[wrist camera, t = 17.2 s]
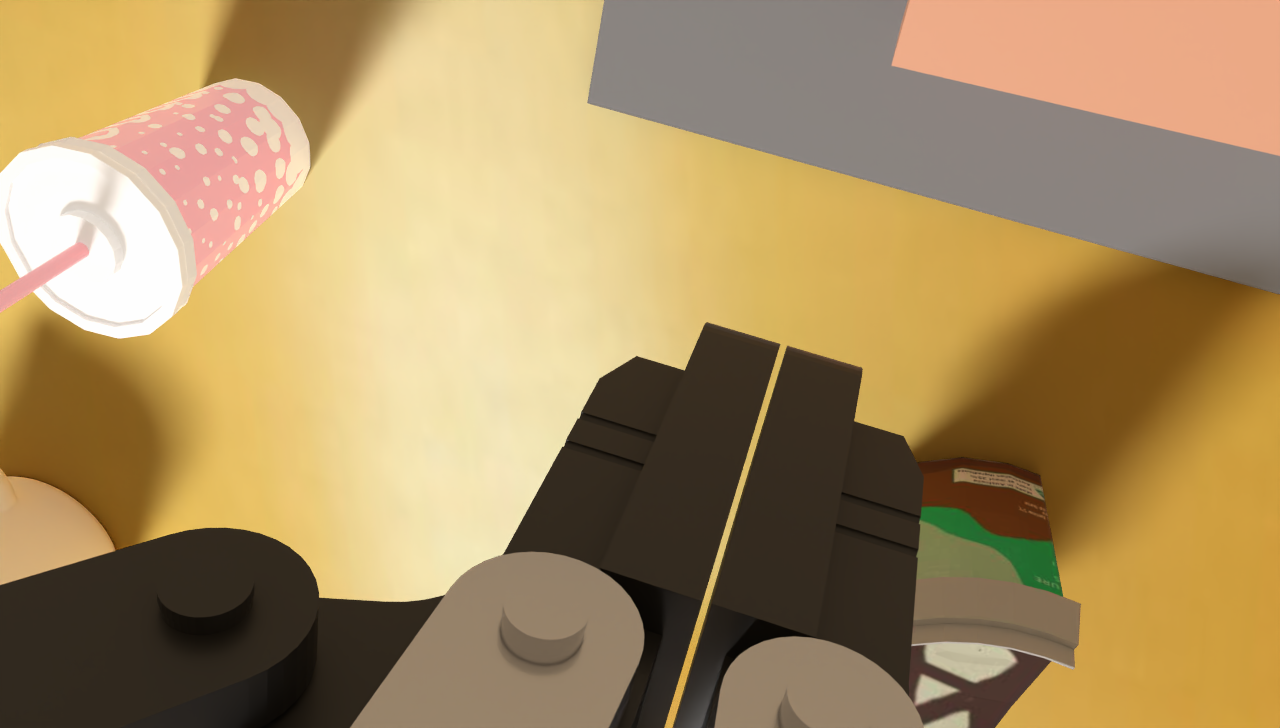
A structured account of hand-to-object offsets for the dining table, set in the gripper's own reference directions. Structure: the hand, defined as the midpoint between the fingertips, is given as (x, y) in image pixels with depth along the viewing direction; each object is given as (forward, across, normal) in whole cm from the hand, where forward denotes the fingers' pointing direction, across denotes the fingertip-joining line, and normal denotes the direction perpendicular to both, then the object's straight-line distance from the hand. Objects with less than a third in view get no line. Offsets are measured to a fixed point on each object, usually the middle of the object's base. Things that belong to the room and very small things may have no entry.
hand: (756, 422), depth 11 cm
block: (+22, -1, 0) cm, 22 cm away
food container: (+25, -6, +20) cm, 33 cm away
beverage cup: (+25, +20, +12) cm, 34 cm away
